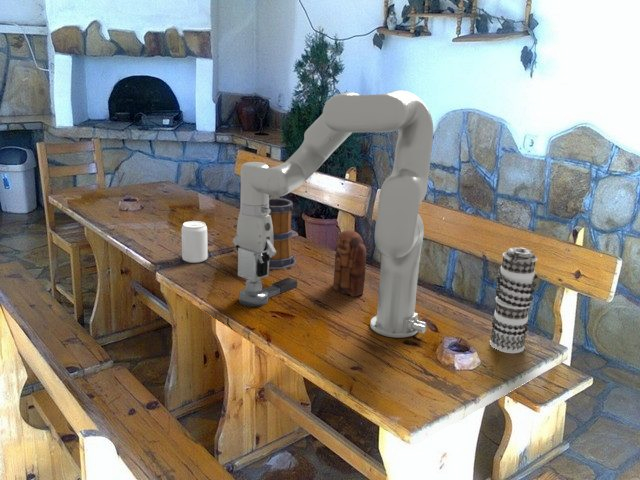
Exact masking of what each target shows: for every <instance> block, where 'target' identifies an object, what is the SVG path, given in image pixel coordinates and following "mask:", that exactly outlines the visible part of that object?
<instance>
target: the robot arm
mask: <svg viewBox="0 0 640 480" xmlns="http://www.w3.org/2000/svg"><path fill="white" fill-rule="evenodd" d="M395 131H397V142H396V143H395V144H396V145H395V152H394V159H393V161H394V162H393V166H392V171H391V173H390V175H389V176H387V177H386V179H385V180H384V182H383V183H382V185H381V187H380V191H379V195H378V196H379V197H378V200H377V201H378V202H377V210H376V211H377V212H376V219H375V227H374V242H375V245H376V248H377V249H378V252H380V253H381V259H380V260H381V261H380V271H379V273H380V274H379V283H378V284H379V286H378V287H379V288H378V297H377V311H376V315H375V316H373V317H372V318H371V319H370V322H369V324H370V325H369V326H370V329H371V330H373V332H375V333H376V334H378V335H382V336H385V337H389V338H393V339H394V338H395V339H396V338H398V339H400V338H409V337H413V336H415V335H417V334H418V333H421V334H424V333H425V332H426V331H427V322H425V321H422V320H420V319H418V318H419V313H417V312H415V309H416V302H417V301H416V299H417V291H418V290H417V289H418V288H417V287H418V278H419V271H420V260H421V253H422V247H423V241H424V240H423V239H424V235H425V226H424V221H423V219H422V217H421V215H420V214H419V210H420V205H421V203H422V201H423V200H424V199H425V197H426V195H427V192H428V184H429V175H430V168H431V167H430V166H431V159H432V150H433V141H434V123H433V117H432V114H431V112H430V110H429V108H428V107H427V105H426V103H424V101H423V100H421V98H420V97H418V96H417V95H415V94H414V93H411V92H409V91H407V90H401V89H399V90H393V91H389V92H387V93H381V94H378V93H376V94H359V93H357V92H353V91H346V92H342V93H338V94H335V95H333V96H332V97H330V98H329V99H327V100H326V102H325V104H324V106H323V109H322V114H320V116H319V117H318V118H316V120H314V122H313V123H312V124H311V125H310V126H309V127H308V128H307V129H306V130H305V131H304V135H303V136H304V137H303V138H304V139H303V142H302V144H301V145H300V146H299V148H297V150H295V152H294V153H293V154H291V156H290V157H289V158H288V159H287V160H285V162H283V163H281V164H279V165H277V166H272V167H270V166H269V165H268V164H267V163H265V162H260V161H247V162H245V163H243V164H242V165H241V167H240V208H239V209H240V210H239V212H238V218H237V222H236V224H237V225H236V235H235V236H234V237H233V239H232V243H233V244H234V245H235V249H236V250H237V251H238V248H240V247H243V248H246V249H249V250H252V251H255V252H258V253H259V256H258V257H259V261H260V262H259V263H258V277H262V276H264V275H267V266H268V261H270V259H271V258H272V257H273V256H274V255H275V254H276V253H277V252H276V250H275V248H274V247H273V245H274V239H273V225H272V219H271V215H269V213H270V212H271V210H270V209H269V198H270V196H272V197H274V198H280V197H284V196H286V195H288V194H290V193H291V192H293V191H295V190H296V189H299V188H300V187H301V186H302V185H303V184H304V183H305V182H306V181H308V179H310V178H311V176H312V175H314V174H315V172H316V171H317V170H319V168H320V167H321V166H322V165H324V162H326V160H328V159H329V157H330V156H331V155H332V154H333V153H334V152H335V151H336V150H337V149H338V148H339V147H340V146H341V145H342V144H343V143H344V142H345V141H346V140H347V138H348V137H350V136H351V135H352V134H354V133H390V132H395ZM267 249H268V251H269V253H268V251H267ZM262 253H264V257H263V255H262Z"/></svg>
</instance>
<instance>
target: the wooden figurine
mask: <svg viewBox="0 0 640 480" xmlns="http://www.w3.org/2000/svg"><path fill="white" fill-rule="evenodd" d="M336 248H337V249H336V252H335V255H334V256H335V257H334V270H333V271H334V272H333V282H332V283H333V284H332V285H333V289H334V290H335V291H336V292H340V293H342V294H344V295H350V296H352V297H358V296H360V295H363V294H364V290H365V289H364V288H365V283H366V282H365V279H366V266H367V265H366V263H367V248H366V246H365V244H364V239H363V238H362V236H361V235H360V234H359V233H358V232H357V231H354V230H350V229H347V230H344V231H341V232H340V233H339V235H338V239H337V243H336Z"/></svg>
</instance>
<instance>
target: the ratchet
mask: <svg viewBox="0 0 640 480" xmlns="http://www.w3.org/2000/svg"><path fill="white" fill-rule="evenodd" d="M297 287H298V280H297V279H294V278H291V277H289V276H288V277H286V278H283V279H280V280H278V281H276V282H273V283H272V285H270V286H268V287H265V288H263V280H261V279H259V280H256V281H251V280H248V279H246V280H245V288H243V289H242V290H239V293H238V298H239V299H238V302H239V304H241V306H244V307H249V308H260V307H262V306H265V305H267V304H268V302H269V299H271V298H272V297H275V296H276V295H279V294H282V293H286V292H288V291H290V290H292V289H294V288H297Z"/></svg>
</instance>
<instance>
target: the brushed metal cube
mask: <svg viewBox="0 0 640 480" xmlns="http://www.w3.org/2000/svg"><path fill="white" fill-rule="evenodd" d="M267 251H268V249H267ZM268 253H269V251H268ZM262 255H263V257H264V253H262ZM258 256H259V253H258V252H255V251H252V250H249V249H246V248H243V247H240V248H238V250H237V276H238V277H241V278H243V279H246V280H251V281H256V280H261V279H264V278H267V277H269V276H270V269H269V261H268V266H267V275H264V276H262V277H258V263H259V262H260V261H259V257H258Z"/></svg>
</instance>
